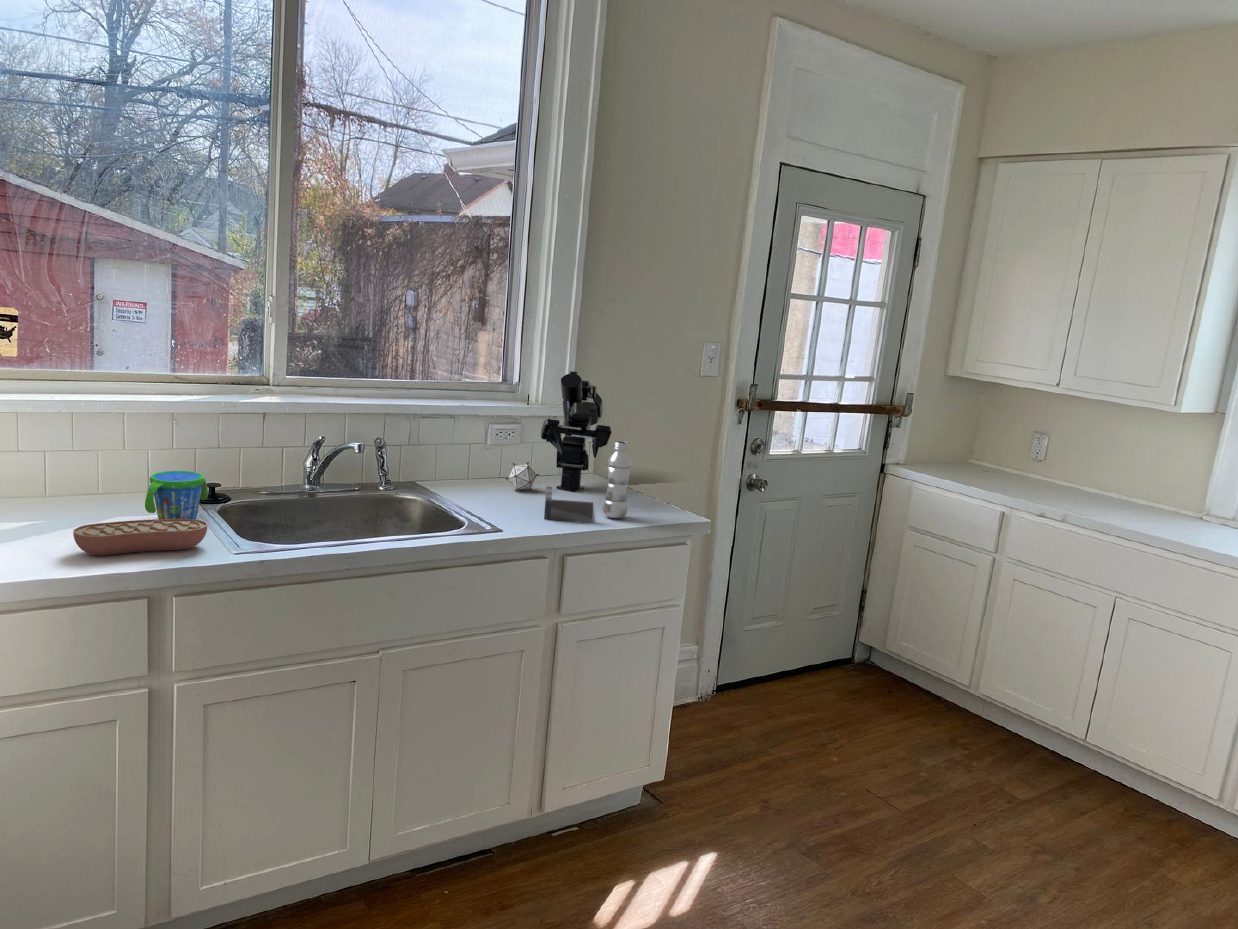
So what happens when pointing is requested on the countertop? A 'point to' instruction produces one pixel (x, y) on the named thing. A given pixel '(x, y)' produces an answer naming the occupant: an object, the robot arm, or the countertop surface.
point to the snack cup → (176, 494)
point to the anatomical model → (139, 536)
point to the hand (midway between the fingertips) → (578, 455)
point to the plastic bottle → (617, 481)
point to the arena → (567, 509)
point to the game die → (522, 476)
